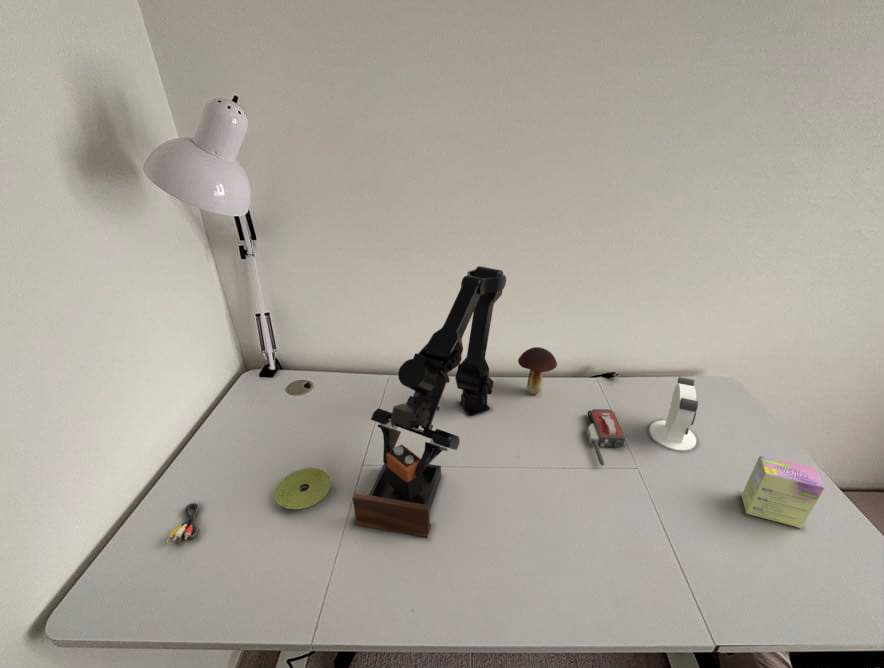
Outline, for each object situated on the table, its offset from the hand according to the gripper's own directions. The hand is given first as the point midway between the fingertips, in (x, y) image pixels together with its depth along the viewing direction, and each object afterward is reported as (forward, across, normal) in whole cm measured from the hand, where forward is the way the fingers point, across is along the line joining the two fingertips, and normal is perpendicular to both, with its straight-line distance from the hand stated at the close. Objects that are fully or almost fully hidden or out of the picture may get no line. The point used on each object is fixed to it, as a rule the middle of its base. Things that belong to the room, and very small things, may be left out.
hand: (400, 469), depth 89 cm
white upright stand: (-28, +51, +40) cm, 71 cm away
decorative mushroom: (-29, +13, +42) cm, 52 cm away
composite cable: (+23, -33, -12) cm, 42 cm away
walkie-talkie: (-21, +35, +34) cm, 53 cm away
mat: (+12, -19, 0) cm, 23 cm away
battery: (+4, 0, +6) cm, 7 cm away
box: (-17, +72, +29) cm, 79 cm away
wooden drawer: (+6, 0, +5) cm, 8 cm away
